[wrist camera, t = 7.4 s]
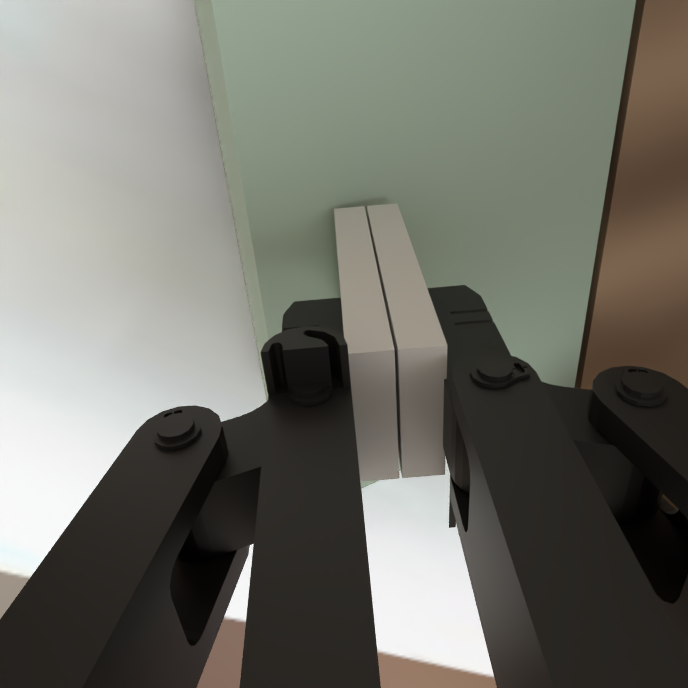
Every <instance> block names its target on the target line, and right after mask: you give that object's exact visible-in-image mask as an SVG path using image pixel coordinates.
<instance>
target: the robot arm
mask: <svg viewBox="0 0 688 688" xmlns="http://www.w3.org/2000/svg"><path fill="white" fill-rule="evenodd" d="M334 218H335V230H336V243H337V255H338V268H339V280H340V293H341V297H340V298H329V299H317V300H306V301H294V302H293V303H292V305H291V306H290V307H289V308H288V309H287V310H286V312H285V313H284V314H283V321H282V332H281V333H279V334H276V335H274V336H273V337H272V338H271V339H269V340H268V341H267V342H266V343H265V344H264V346H263V348H262V350H261V352H260V353H261V358H262V364H263V369H264V375H265V381H266V386H267V392H268V401H267V402H266V403H264V404H263V405H262V406H261V407H259V408H257V409H256V410H254V411H252V412H250V413H247V414H245V415H242V416H240V417H236V418H233V419H230V420H226V421H223V422H221V421H220V418H219V416H218V415H217V414H216V413H214V412H213V411H212V410H210V409H209V408H204V407H199V406H181V407H176V408H173V409H169V410H166V411H163V412H161V413H159V414H157V415H155V416H154V417H152V418H150V419H148V420H147V421H146V422H145V423H144V424H143V425H142V426H141V427H140V428H139V429H138V430H137V431H136V433H135V434H134V435H133V437H132V438H131V439H130V441H129V442H128V444H127V445H126V446H125V448H124V449H123V450H122V452H121V453H120V455H119V456H118V457H117V459H116V460H115V462H114V463H113V464H112V466H111V467H110V468H109V470H108V471H107V473H106V474H105V475H104V477H103V478H102V480H101V481H100V482H99V484H98V485H97V486H96V488H95V489H94V491H93V492H92V493H91V495H90V496H89V497H88V499H87V500H86V502H85V503H84V504H83V506H82V507H81V509H80V510H79V511H78V513H77V514H76V515H75V517H74V518H73V520H72V521H71V522H70V524H69V525H68V527H67V528H66V529H65V531H64V532H63V533H62V535H61V536H60V538H59V539H58V540H57V542H56V543H55V544H54V546H53V547H52V549H51V550H50V551H49V553H48V554H47V556H46V557H45V558H44V560H43V561H42V562H41V564H40V565H39V567H38V568H37V569H36V571H35V572H34V574H33V575H32V576H31V578H30V579H29V580H28V582H27V583H26V585H25V586H24V587H23V589H22V590H21V592H20V593H19V594H18V596H17V597H16V598H15V600H14V601H13V603H12V604H11V605H10V607H9V608H8V609H7V611H6V612H5V614H4V615H3V616H2V618H1V619H0V688H196V687H197V684H198V682H199V679H200V677H201V674H202V672H203V669H204V667H205V664H206V662H207V659H208V656H209V654H210V651H211V649H212V646H213V643H214V641H215V639H216V636H217V633H218V631H219V628H220V626H221V623H222V621H223V618H224V615H225V613H226V610H227V608H228V605H229V603H230V600H231V597H232V595H233V592H234V590H235V587H236V585H237V582H238V579H239V577H240V574H241V572H242V569H243V567H244V564H245V561H246V559H247V556H248V553H249V546H250V545H251V544H254V547H253V557H252V567H251V577H250V588H249V598H248V608H247V618H246V629H245V639H244V650H243V659H242V670H241V680H240V688H381V687H380V676H379V666H378V656H377V645H376V635H375V625H374V615H373V605H372V595H371V584H370V574H369V564H368V554H367V544H366V534H365V523H364V513H363V503H362V493H361V483H360V482H361V481H373V480H384V479H396V478H399V461H400V467H401V473H402V478H408V477H419V476H431V475H443V474H445V456H446V459H447V463H448V467H449V471H450V506H449V528H450V527H455V526H456V524H457V528H458V532H459V536H460V540H461V544H462V548H463V552H464V556H465V560H466V564H467V568H468V572H469V576H470V580H471V584H472V588H473V592H474V596H475V601H476V605H477V609H478V613H479V617H480V621H481V625H482V629H483V633H484V637H485V641H486V645H487V649H488V653H489V657H490V661H491V665H492V669H493V673H494V677H495V681H496V685H497V688H688V388H686V387H685V386H684V385H682V384H681V383H680V382H678V381H677V380H675V379H673V378H671V377H670V376H668V375H666V374H664V373H662V372H658V371H655V370H652V369H649V368H645V367H636V366H620V367H611V368H609V369H607V370H604V371H602V372H600V373H599V374H598V375H597V376H596V378H595V379H594V380H593V383H592V389H591V390H589V389H580V388H572V387H563V386H558V385H552V384H548V383H545V382H542V381H541V380H540V378H539V376H538V374H537V372H536V371H535V370H534V369H533V368H532V367H531V366H530V365H529V363H527V362H525V361H523V360H521V359H519V358H517V357H514V356H511V354H510V352H509V350H508V348H507V346H506V344H505V342H504V340H503V338H502V336H501V334H500V332H499V330H498V329H497V327H496V325H495V323H494V322H493V319H492V317H491V315H490V313H489V311H487V307H486V305H485V303H484V301H483V299H482V297H481V295H479V294H478V293H476V292H475V291H473V290H472V289H470V288H469V287H467V286H466V285H458V286H446V287H435V288H427V286H426V283H425V280H424V278H423V275H422V272H421V269H420V266H419V263H418V261H417V258H416V255H415V252H414V249H413V246H412V244H411V241H410V238H409V235H408V232H407V229H406V227H405V224H404V221H403V218H402V215H401V212H400V210H399V207H398V204H397V203H394V204H383V205H372V206H367V216H366V211H365V207H364V206H360V207H349V208H337V209H334ZM398 455H399V459H398ZM663 494H664V495H665V496H666V497H667V498H668V499H669V500H670V501H671V502H672V503H673V504H674V505H675V506H676V507H677V508H678V509H679V510H678V509H676V508H674V507H673V506H672V505H671V504H669V503H668V502H667V501H666V500H665V499H664V498H663V497H662V496H663Z"/></svg>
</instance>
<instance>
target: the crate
mask: <svg viewBox="0 0 688 688" xmlns="http://www.w3.org/2000/svg"><path fill="white" fill-rule="evenodd" d="M620 366H636V367H645V368H649V369H652V370H655V371H658V372H662V373H664V374H666V375H668V376H670V377H671V378H673V379H675V380H677V381H678V382H680V383H681V384H682V385H684V386H685V387H686V388H688V0H636V4H635V10H634V17H633V23H632V29H631V36H630V42H629V48H628V54H627V61H626V67H625V73H624V80H623V86H622V92H621V98H620V105H619V111H618V117H617V123H616V130H615V136H614V142H613V149H612V155H611V161H610V167H609V174H608V180H607V186H606V192H605V199H604V205H603V211H602V218H601V224H600V230H599V236H598V243H597V249H596V255H595V262H594V268H593V274H592V280H591V287H590V293H589V299H588V305H587V312H586V318H585V324H584V331H583V337H582V343H581V349H580V356H579V362H578V368H577V374H576V381H575V387H574V388H580V389H589V390H591V389H592V383H593V380H594V379H595V378H596V376H597V375H598V374H599V373H600V372H602V371H604V370H607V369H609V368H611V367H620ZM662 497H663V498H664V499H665V500H666V501H667V502H668V503H669V504H671V505H672V506H673V507H674V508H676V509H678V508H677V507H676V506H675V505H674V504H673V503H672V502H671V501H670V500H669V499H668V498H667V497H666V496H665V495H664V494H663V496H662ZM678 510H679V509H678Z"/></svg>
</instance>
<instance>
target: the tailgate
mask: <svg viewBox="0 0 688 688" xmlns="http://www.w3.org/2000/svg"><path fill="white" fill-rule="evenodd" d="M194 4H195V9H196V15H197V20H198V26H199V31H200V37H201V42H202V48H203V53H204V59H205V64H206V70H207V75H208V81H209V86H210V92H211V97H212V103H213V108H214V114H215V119H216V125H217V130H218V136H219V141H220V147H221V152H222V158H223V163H224V169H225V174H226V180H227V185H228V191H229V196H230V202H231V207H232V213H233V218H234V224H235V229H236V235H237V240H238V246H239V251H240V257H241V262H242V268H243V273H244V279H245V284H246V290H247V295H248V301H249V306H250V312H251V317H252V323H253V328H254V334H255V339H256V345H257V350H258V356H259V361H260V367H261V372H262V378H263V383H264V389H265V394H266V400H267V401H268V392H267V386H266V381H265V375H264V369H263V364H262V358H261V353H260V352H261V350H262V348H263V346H264V344H265V343H266V342H267V341H268V340H269V339H271V338H272V337H273V336H274V335H276V334H279V333H281V332H282V321H283V314H284V313H285V312H286V310H287V309H288V308H289V307H290V306H291V305H292V303H293V302H294V301H306V300H317V299H329V298H340V297H341V293H340V280H339V268H338V255H337V243H336V230H335V218H334V209H337V208H349V207H360V206H364V207H365V211H366V216H367V206H372V205H383V204H394V203H397V204H398V207H399V210H400V212H401V215H402V218H403V221H404V224H405V227H406V229H407V232H408V235H409V238H410V241H411V244H412V246H413V249H414V252H415V255H416V258H417V261H418V263H419V266H420V269H421V272H422V275H423V278H424V280H425V283H426V286H427V288H435V287H446V286H458V285H466V286H467V287H469V288H470V289H472V290H473V291H475V292H476V293H478V294H479V295H481V297H482V299H483V301H484V303H485V305H486V307H487V311H489V313H490V315H491V317H492V319H493V322H494V323H495V325H496V327H497V329H498V330H499V332H500V334H501V336H502V338H503V340H504V342H505V344H506V346H507V348H508V350H509V352H510V354H511V356H514V357H517V358H519V359H521V360H523V361H525V362H527V363H529V365H530V366H531V367H532V368H533V369H534V370H535V371H536V372H537V374H538V376H539V378H540V380H541V381H542V382H545V383H548V384H552V385H558V386H563V387H572V388H574V387H575V381H576V374H577V368H578V362H579V356H580V349H581V343H582V337H583V331H584V324H585V318H586V312H587V305H588V299H589V293H590V287H591V280H592V274H593V268H594V262H595V255H596V249H597V243H598V236H599V230H600V224H601V218H602V211H603V205H604V199H605V192H606V186H607V180H608V174H609V167H610V161H611V155H612V149H613V142H614V136H615V130H616V123H617V117H618V111H619V105H620V98H621V92H622V86H623V80H624V73H625V67H626V61H627V54H628V48H629V42H630V36H631V29H632V23H633V17H634V10H635V4H636V0H194ZM398 459H399V455H398ZM399 471H401V467H400V461H399ZM377 481H379V480H373V481H361V482H360V483H361V488H364V487H366V486H368V485H370V484H372V483H375V482H377Z"/></svg>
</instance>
